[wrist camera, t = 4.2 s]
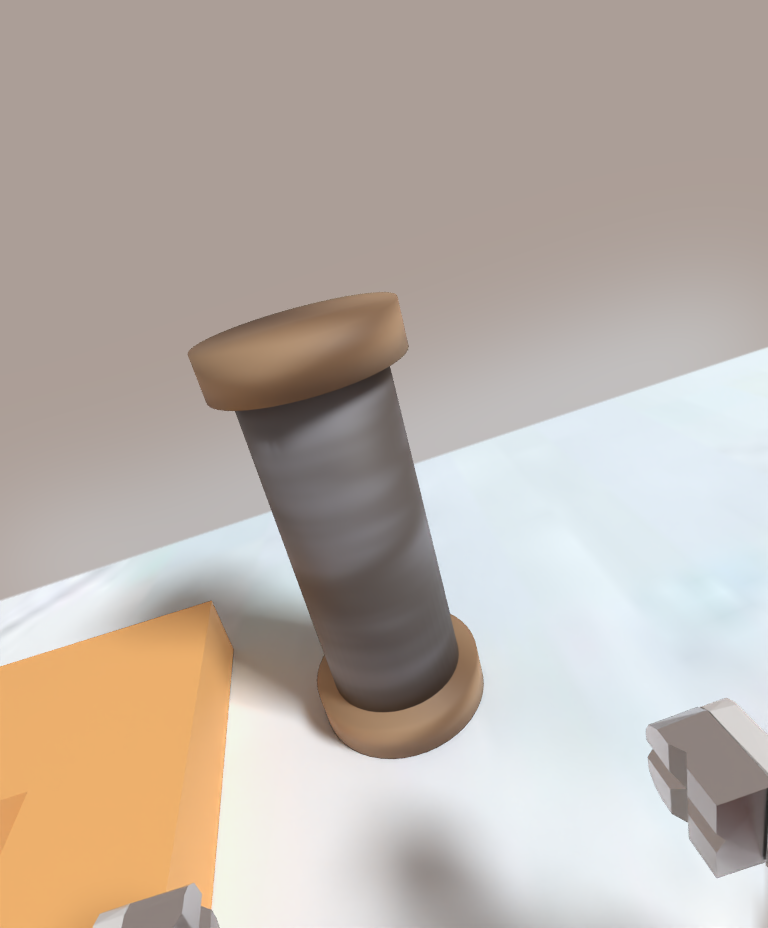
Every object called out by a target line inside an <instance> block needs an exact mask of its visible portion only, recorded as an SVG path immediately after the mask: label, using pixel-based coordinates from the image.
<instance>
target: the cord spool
mask: <svg viewBox="0 0 768 928" xmlns="http://www.w3.org/2000/svg"><path fill="white" fill-rule="evenodd" d="M408 347H409V346H408V342H407V337H406V333H405V328H404V324H403V319H402V315H401V311H400V306H399V302H398V297H397V295H396V294H394V293H389V292H377V293H365V294H358V295H351V296H345V297H340V298H335V299H330V300H326V301H321V302H317V303H313V304H308V305H304V306H301V307H297V308H293V309H289V310H286V311H282V312H279V313H275V314H272V315H269V316H266V317H263V318H260V319H257V320H253V321H250V322H248V323H245V324H242V325H239V326H237V327H234V328H231V329H229V330H226V331H224V332H221V333H219V334H217V335H215V336H212V337H210V338H208V339H206V340H205V341H202V342H200V343H199V344H197V345H196V346H194V347H193V348H191V349H190V350H189V352H188V357H189V359H190V362H191V364H192V367H193V370H194V372H195V375H196V377H197V380H198V382H199V385H200V387H201V390H202V392H203V395H204V398H205V401H206V403H207V405H208V406H210V407H211V408H213V409H217V410H224V411H235V412H236V415H237V418H238V420H239V423H240V426H241V429H242V431H243V434H244V437H245V440H246V442H247V445H248V448H249V450H250V453H251V456H252V459H253V461H254V464H255V467H256V469H257V472H258V475H259V478H260V480H261V483H262V486H263V489H264V491H265V494H266V497H267V499H268V502H269V505H270V508H271V510H272V513H273V516H274V519H275V521H276V524H277V527H278V529H279V532H280V535H281V538H282V540H283V543H284V546H285V548H286V551H287V554H288V557H289V559H290V562H291V565H292V568H293V570H294V573H295V576H296V578H297V581H298V584H299V587H300V589H301V592H302V595H303V597H304V600H305V603H306V606H307V608H308V611H309V614H310V617H311V619H312V622H313V625H314V627H315V630H316V633H317V636H318V638H319V641H320V644H321V646H322V649H323V652H324V657H323V659H322V661H321V664H320V666H319V670H318V676H317V687H318V692H319V695H320V698H321V701H322V703H323V706H324V709H325V711H326V714H327V716H328V719H329V721H330V724H331V726H332V728H333V730H334V732H335V733H336V735H337V736H338V738H339V739H340V740H341V741H342V742H343V743H344V744H346V745H347V746H349V747H350V748H351V749H353V750H355V751H357V752H359V753H361V754H364V755H368V756H371V757H377V758H385V759H396V758H406V757H411V756H416V755H419V754H422V753H425V752H428V751H430V750H433V749H435V748H437V747H439V746H441V745H442V744H444V743H446V742H447V741H449V740H450V739H452V738H453V737H454V736H455V735H457V734H458V733H459V732H460V731H461V730H462V729H463V728H464V727H465V726H466V725H467V724H468V722H469V721H470V720H471V719H472V717H473V715H474V714H475V712H476V710H477V708H478V706H479V704H480V701H481V698H482V694H483V685H484V683H483V674H482V669H481V665H480V660H479V656H478V652H477V647H476V643H475V639H474V637H473V635H472V633H471V632H470V630H469V629H468V627H467V626H466V625H465V624H464V623H463V622H462V621H461V620H459V619H458V618H457V617H455V616H453V615H451V614H450V612H449V608H448V604H447V600H446V595H445V591H444V587H443V583H442V579H441V575H440V571H439V567H438V562H437V558H436V554H435V550H434V546H433V542H432V538H431V534H430V530H429V525H428V521H427V517H426V513H425V509H424V505H423V501H422V497H421V492H420V488H419V484H418V480H417V476H416V472H415V468H414V464H413V460H412V455H411V451H410V447H409V443H408V439H407V435H406V431H405V427H404V423H403V418H402V414H401V410H400V406H399V402H398V398H397V394H396V389H395V386H394V381H393V377H392V373H391V369H390V366H391V365H392V364H394V363H395V362H397V361H398V360H399V359H401V357H403V356H404V355H405V354H406V352H407V350H408Z"/></svg>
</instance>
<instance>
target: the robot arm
mask: <svg viewBox="0 0 768 928" xmlns="http://www.w3.org/2000/svg"><path fill="white" fill-rule="evenodd" d="M646 740H647V741H648V743H649V744H650V745H651V747H652V748H653V749H652V751H651V753H650V754H649V756H648V765H649V772H650V774H651V777H652V780H653V782H654V785H655V787H656V789H657V791H658V793H659V795H660V797H661V798H662V800H663V802H664V803H665V805H666V806H667V808H668V809H669V811H670V812H671V813H672V814H673V815H675V816H677V817H679V818H680V819H682V820H684V821H686V822H688V829H689V840H690V841H691V842H692V844H693V845H694V847H695V848H696V850H697V851H698V852H699V854H700V855H701V857H702V858H703V860H704V861H705V862H706V864H707V865H708V867H709V868H710V870H711V871H712V872H713V874H714V875H715V877H716V878H719V877H722V876H725V875H728V874H731V873H734V872H737V871H740V870H743V869H746V868H749V867H752V866H755V865H758V864H761V863H764V862H766V866H767V867H768V734H767V733H766V732H765V731H764V730H763V729H762V728H761V727H760V726H759V725H758V724H757V723H756V722H755V721H754V720H753V719H752V718H751V717H750V716H749V715H748V714H747V713H746V712H745V711H744V710H743V709H742V708H741V707H740V706H739V705H738V704H737V703H735V702H734V701H732V700H730V699H728V698H724V699H720V700H718V701H715V702H712V703H710V704H707V705H704V706H702V707H696V708H693V709H690V710H687V711H685V712H682V713H679V714H677V715H674V716H671V717H668V718H666V719H663V720H660V721H657V722H655V723H652V724H649V725H648V726H647V728H646ZM201 899H202V893H201V892H200V890H199V889H198V888H197V886H196V885H195V883H191V884H188V885H185V886H182V887H179V888H176V889H173V890H170V891H167V892H164V893H161V894H158V895H155V896H152V897H149V898H146V899H143V900H140V901H137V902H134V903H130V904H127V905H124V906H121V907H118V908H115V909H112V910H109V911H106V912H104V913H101V914H99V916H98V918H97V920H96V922H95V924H94V925H93V927H92V928H220V927H219V924H218V921H217V918H216V916H215V915H214V913H213V911H212V910H211V909H208V908H205V907H203V906H201Z"/></svg>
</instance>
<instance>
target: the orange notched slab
mask: <svg viewBox="0 0 768 928" xmlns="http://www.w3.org/2000/svg"><path fill="white" fill-rule="evenodd" d="M233 650H234V649H233V647H232V645H231V643H230V640H229V638H228V636H227V634H226V631H225V629H224V627H223V625H222V623H221V620H220V618H219V616H218V614H217V611H216V609H215V607H214V605H213V602H212V601H209V602H206V603H202V604H199V605H196V606H193V607H190V608H186V609H183V610H180V611H177V612H174V613H170V614H167V615H164V616H161V617H158V618H154V619H151V620H148V621H145V622H142V623H138V624H135V625H132V626H129V627H125V628H122V629H119V630H116V631H113V632H109V633H106V634H103V635H100V636H97V637H93V638H90V639H87V640H84V641H81V642H77V643H74V644H71V645H68V646H65V647H61V648H58V649H55V650H52V651H49V652H45V653H42V654H39V655H36V656H33V657H29V658H26V659H23V660H20V661H17V662H13V663H10V664H7V665H4V666H1V667H0V928H92V927H93V925H94V924H95V922H96V920H97V918H98V916H99V914H101V913H104V912H106V911H109V910H112V909H115V908H118V907H121V906H124V905H127V904H130V903H134V902H137V901H140V900H143V899H146V898H149V897H152V896H155V895H158V894H161V893H164V892H167V891H170V890H173V889H176V888H179V887H182V886H185V885H188V884H191V883H195V885H196V886H197V888H198V889H199V890H200V892H201V893H202V899H201V906H203V907H205V908H208V909H211V905H212V894H213V882H214V871H215V859H216V847H217V836H218V824H219V813H220V801H221V789H222V778H223V766H224V755H225V743H226V731H227V720H228V708H229V697H230V685H231V673H232V662H233Z"/></svg>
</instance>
